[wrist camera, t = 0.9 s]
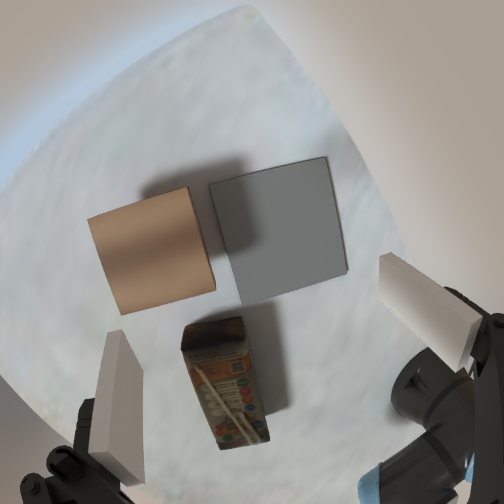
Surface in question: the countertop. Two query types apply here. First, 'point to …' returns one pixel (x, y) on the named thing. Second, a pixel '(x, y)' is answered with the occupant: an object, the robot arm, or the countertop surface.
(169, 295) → the lid
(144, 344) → the countertop surface
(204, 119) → the countertop surface
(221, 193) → the mat
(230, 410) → the beverage carton
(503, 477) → the robot arm
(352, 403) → the countertop surface
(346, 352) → the countertop surface
